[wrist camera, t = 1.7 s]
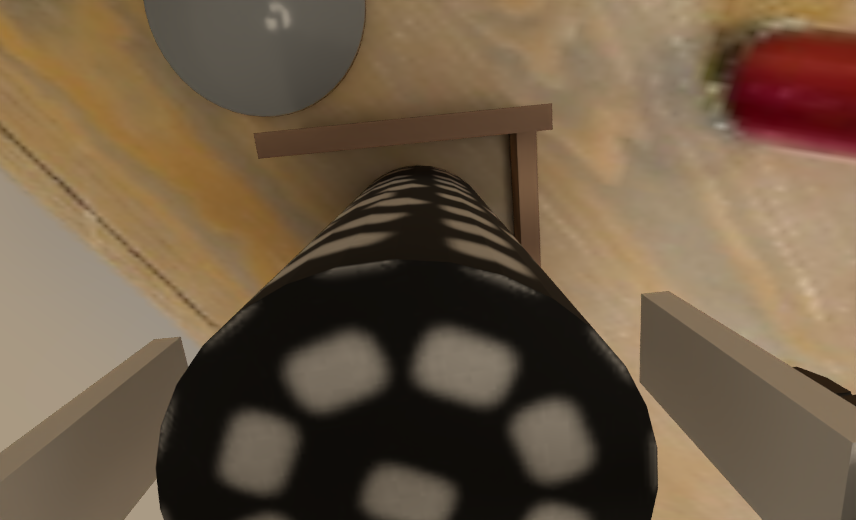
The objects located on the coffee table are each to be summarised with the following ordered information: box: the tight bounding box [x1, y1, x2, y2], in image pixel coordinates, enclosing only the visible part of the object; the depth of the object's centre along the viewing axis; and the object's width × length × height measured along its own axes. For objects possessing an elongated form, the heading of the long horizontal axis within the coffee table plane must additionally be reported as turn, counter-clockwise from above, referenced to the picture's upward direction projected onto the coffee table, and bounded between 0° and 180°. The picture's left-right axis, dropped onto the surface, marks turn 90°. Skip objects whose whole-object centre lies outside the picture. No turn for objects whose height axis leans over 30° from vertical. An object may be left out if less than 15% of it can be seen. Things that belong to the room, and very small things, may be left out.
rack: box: [254, 103, 553, 267], centre depth 24 cm, size 13×12×7 cm
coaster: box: [144, 0, 366, 117], centre depth 23 cm, size 11×11×1 cm
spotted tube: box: [156, 166, 658, 520], centre depth 17 cm, size 8×8×20 cm
